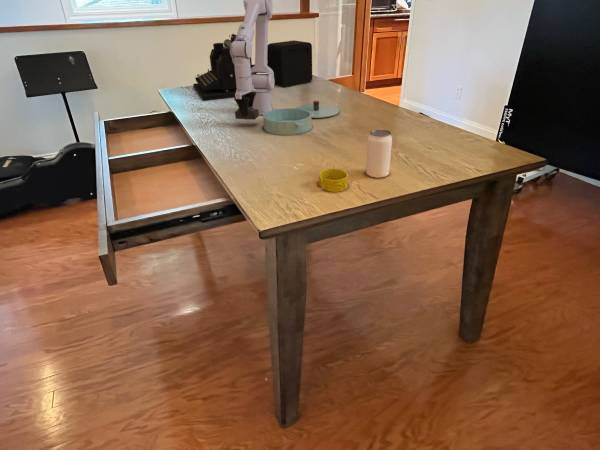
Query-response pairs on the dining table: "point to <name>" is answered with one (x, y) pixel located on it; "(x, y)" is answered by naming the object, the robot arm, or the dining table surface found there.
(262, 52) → the robot arm
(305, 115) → the pot
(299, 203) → the dining table surface
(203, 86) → the typewriter
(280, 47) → the air purifier
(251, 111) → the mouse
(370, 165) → the can
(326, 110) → the lid
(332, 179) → the bracelet
